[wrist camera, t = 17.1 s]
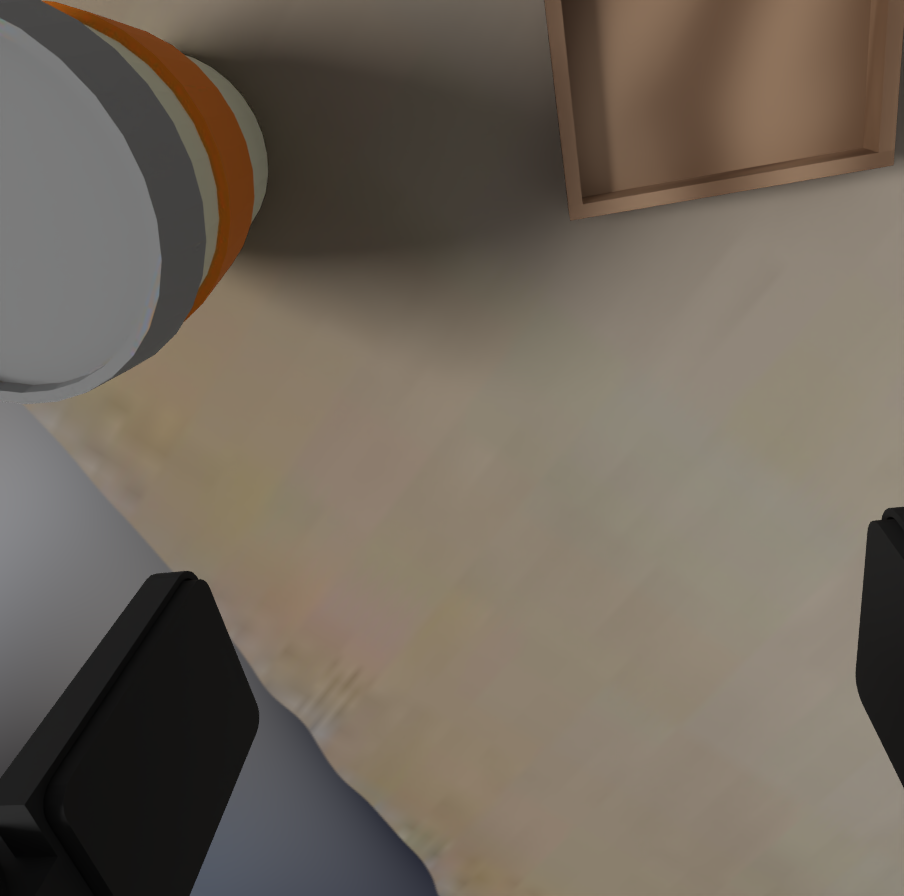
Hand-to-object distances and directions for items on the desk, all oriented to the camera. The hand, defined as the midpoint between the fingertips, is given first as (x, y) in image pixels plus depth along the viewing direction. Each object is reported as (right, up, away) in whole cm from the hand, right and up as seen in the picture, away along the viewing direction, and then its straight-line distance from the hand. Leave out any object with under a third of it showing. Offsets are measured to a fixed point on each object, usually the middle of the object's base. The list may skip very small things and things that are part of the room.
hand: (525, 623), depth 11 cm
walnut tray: (+10, +19, +21) cm, 30 cm away
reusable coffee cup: (-14, +16, +25) cm, 33 cm away
